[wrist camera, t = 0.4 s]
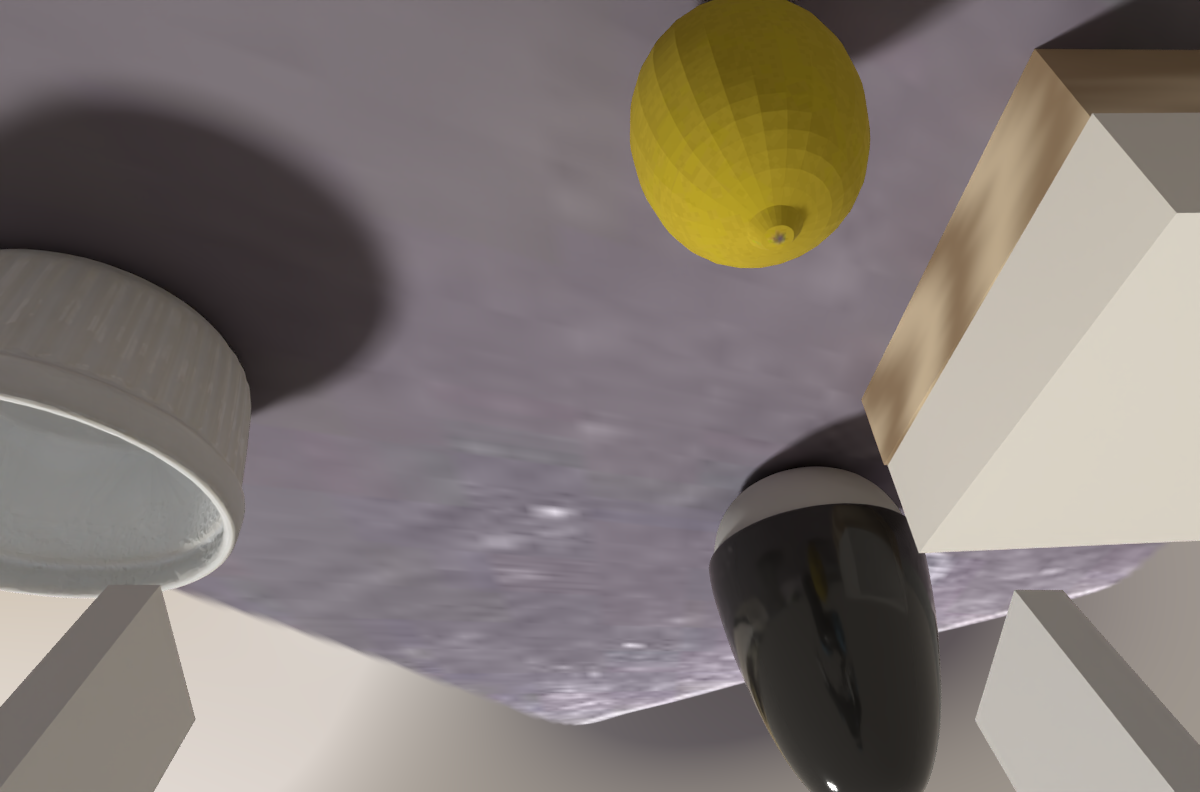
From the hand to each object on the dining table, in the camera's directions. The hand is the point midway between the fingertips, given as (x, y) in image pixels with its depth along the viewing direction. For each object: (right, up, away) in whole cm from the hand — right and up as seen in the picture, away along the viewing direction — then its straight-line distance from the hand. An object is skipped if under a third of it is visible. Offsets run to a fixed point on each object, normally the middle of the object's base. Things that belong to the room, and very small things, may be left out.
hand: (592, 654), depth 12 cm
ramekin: (-19, +6, +17) cm, 26 cm away
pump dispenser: (+10, -1, +28) cm, 30 cm away
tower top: (+20, +6, +14) cm, 25 cm away
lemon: (+3, +14, +9) cm, 17 cm away
